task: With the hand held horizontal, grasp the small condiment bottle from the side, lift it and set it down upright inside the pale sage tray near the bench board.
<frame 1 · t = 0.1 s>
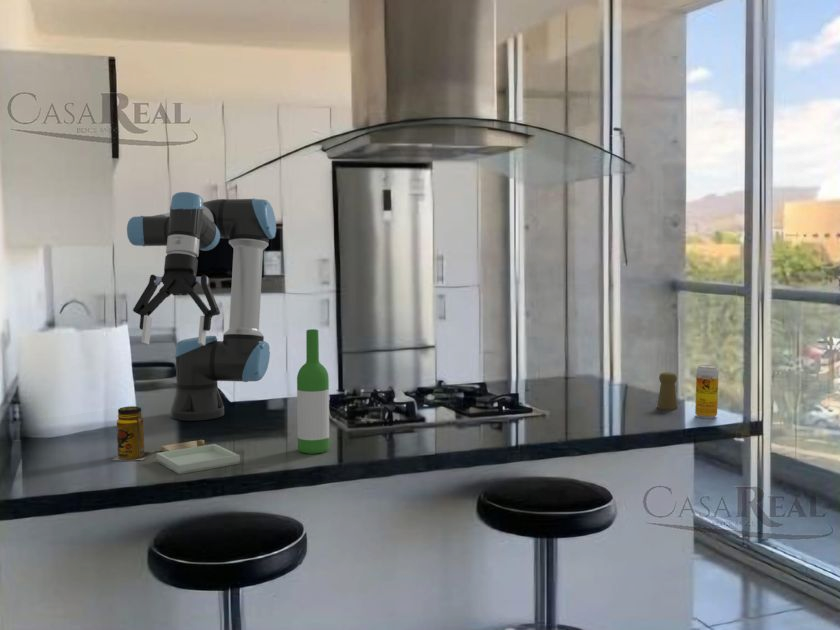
hand: (173, 344, 197), 28 cm above the worktop, tool tilted 20°, fingers open, 13 cm apart
wine bottle: (313, 451, 208), on the worktop
beer can: (705, 417, 249), on the worktop
tray: (198, 462, 197), on the worktop
condiment: (133, 457, 203), on the worktop
cork: (667, 408, 262), on the worktop
bench board: (185, 450, 208), on the worktop
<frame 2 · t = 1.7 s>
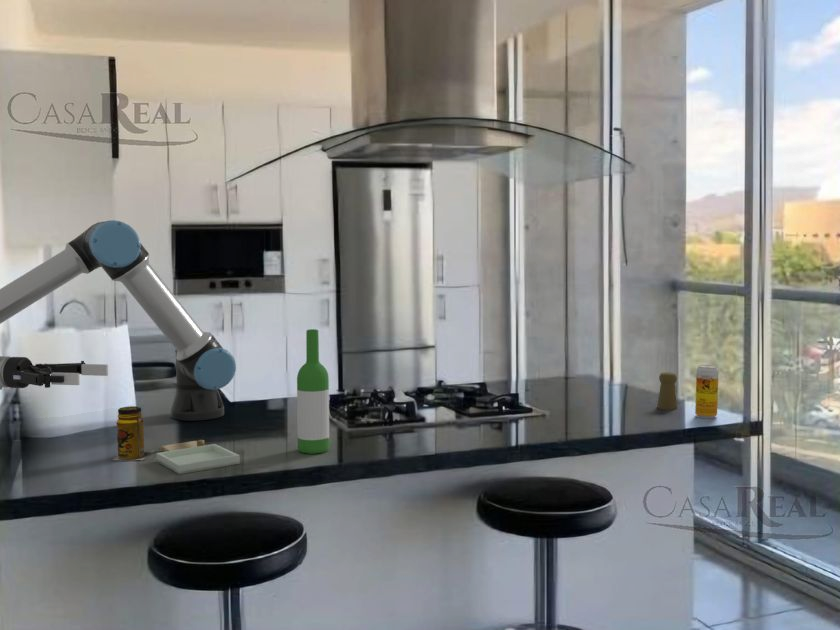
hand: (93, 374, 202), 20 cm above the worktop, tool horizontal, fingers open, 13 cm apart
nothing on the worktop moved.
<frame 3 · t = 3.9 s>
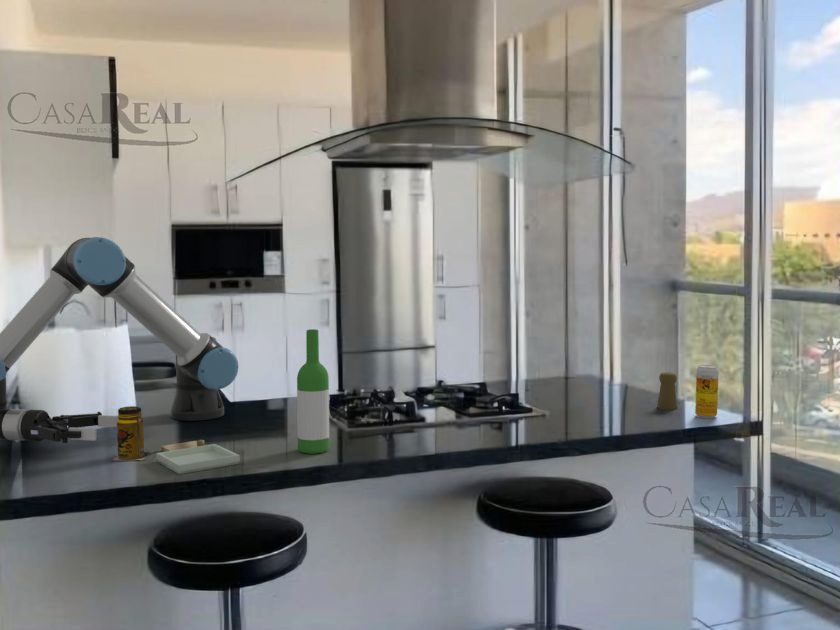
hand: (110, 427, 203), 7 cm above the worktop, tool horizontal, fingers open, 13 cm apart
nothing on the worktop moved.
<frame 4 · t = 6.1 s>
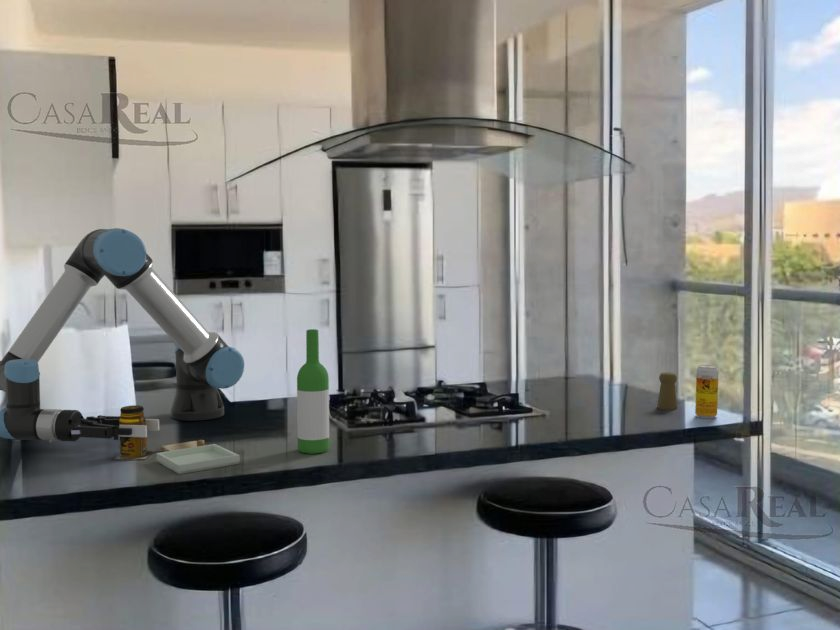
hand: (152, 428, 202), 7 cm above the worktop, tool horizontal, fingers closed on condiment, 6 cm apart
condiment: (135, 456, 204), on the worktop, touching gripper
everything else where it was.
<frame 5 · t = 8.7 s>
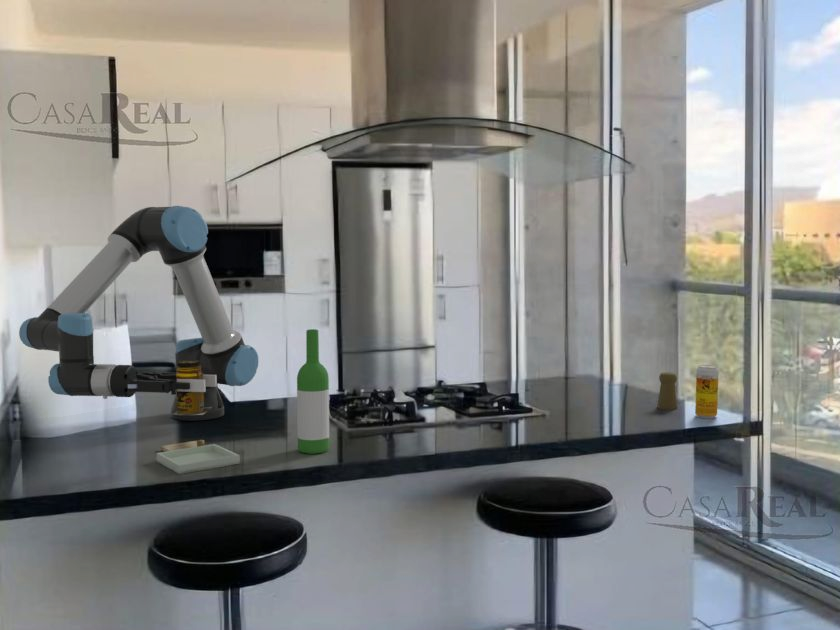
hand: (210, 383, 195), 19 cm above the worktop, tool horizontal, fingers closed on condiment, 6 cm apart
condiment: (192, 412, 197), point 12 cm above the worktop, touching gripper
everything else where it was.
when the fingers open (9 cm above the worktop, at t = 11.1 s): condiment stays where it is, resting on tray.
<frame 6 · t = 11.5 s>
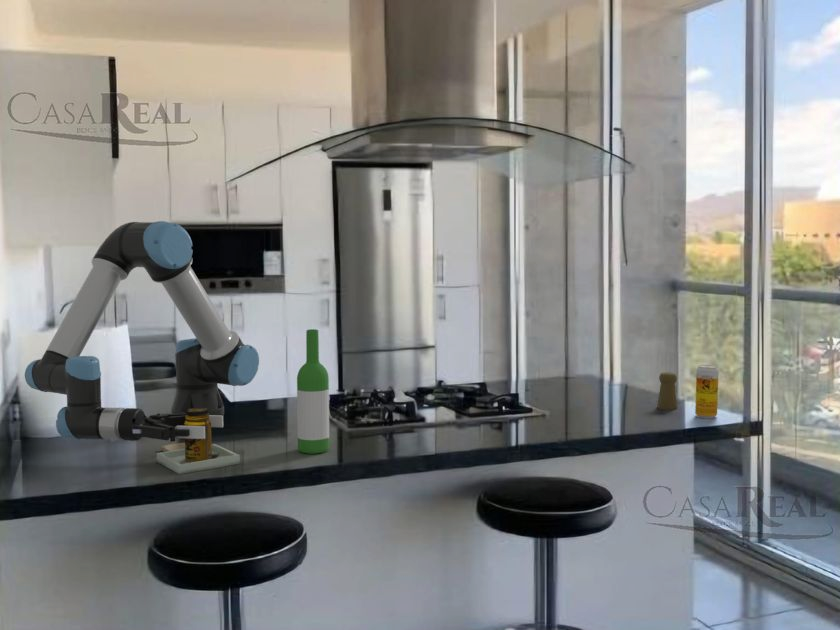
hand: (213, 426, 196), 9 cm above the worktop, tool horizontal, fingers open, 11 cm apart
condiment: (200, 460, 198), resting on tray
everything else where it was.
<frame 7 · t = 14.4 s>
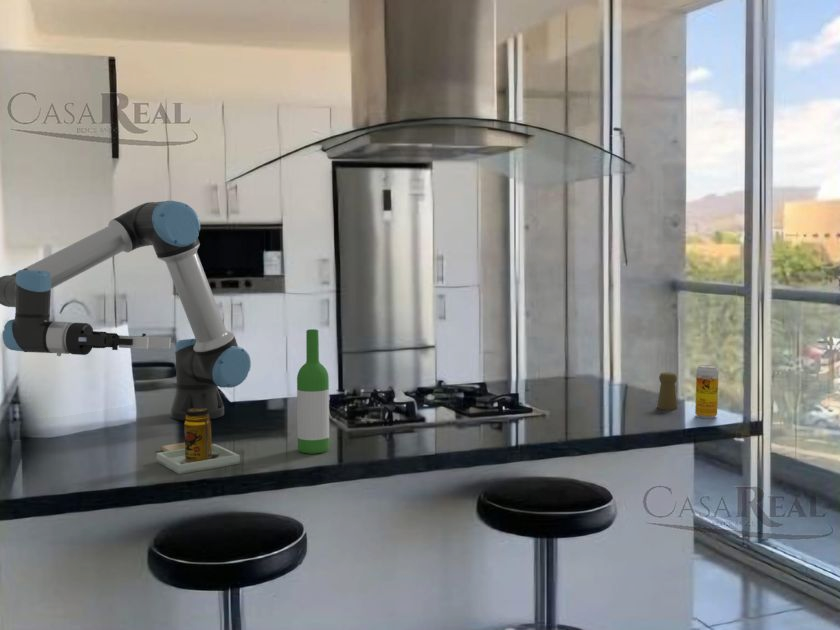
hand: (159, 343, 198), 28 cm above the worktop, tool horizontal, fingers open, 13 cm apart
nothing on the worktop moved.
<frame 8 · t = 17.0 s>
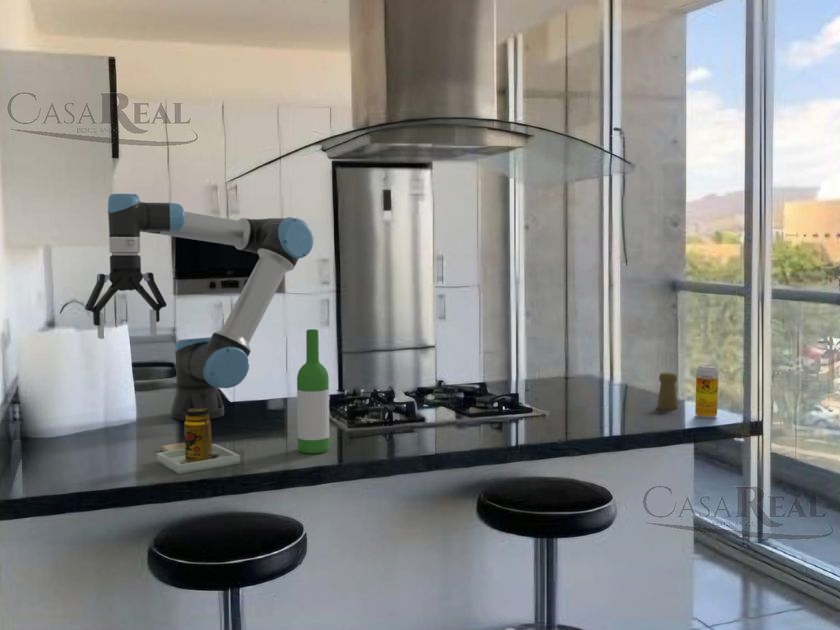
hand: (127, 336, 219), 27 cm above the worktop, tool pointing down, fingers open, 13 cm apart
nothing on the worktop moved.
at the end: condiment inside the target area on the tray (0.8 cm from its centre), point 0.4 cm above the tray's base; condiment tilted 0°; the gripper is holding nothing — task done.
